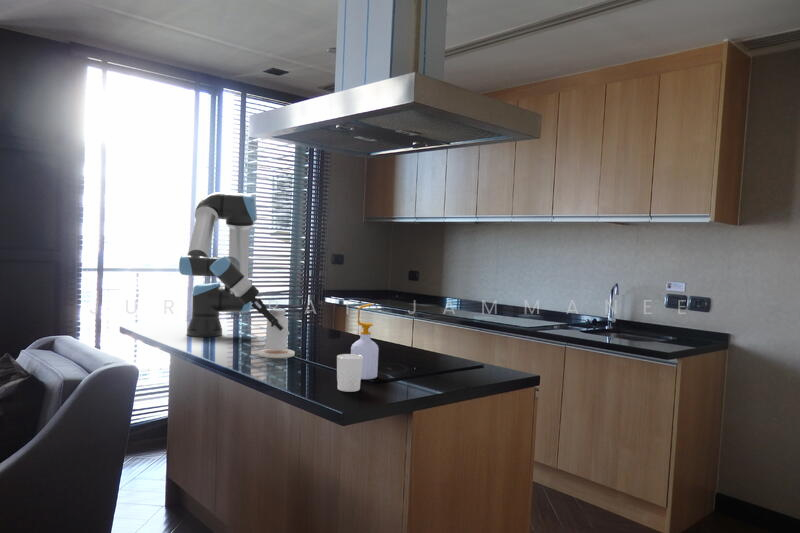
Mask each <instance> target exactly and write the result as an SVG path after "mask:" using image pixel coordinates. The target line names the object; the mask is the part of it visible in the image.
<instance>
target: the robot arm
mask: <svg viewBox="0 0 800 533" xmlns="http://www.w3.org/2000/svg"><path fill="white" fill-rule="evenodd" d="M194 211H195V212H194V218H195V221H194V222H195V223H194V226H193V232H192V236H191V237H190V238H191V240H190V242H189V247H188V252H187V254H186V255H181V257H180V258H179V263H178V270H179V274H181V275H183V276H189V277H190V276H191V277H193V276H194V277H215V278H217V279H218V280H219V281H220V282H222V284H223V286H222V285H221V283H220V282H210V283H200V284H196V285H194V286H193V289H192V295H191V296H192V303H191V304H192V305H191V306H192V308H191V319H190V321H189V324H188V327H187V329H186V335H187V336H190V337H196V338H197V337H200V338H209V337H210V338H211V337H220V336H222V335H223V327H222V324H221V320H220V313H239V314H241V313H250V311H251V310H252V308H253V309H254V310H256V311H257V312H258V313H259V314H262V316H263V317H264V318H265V319H268V320H269V322H270V323H271V324H272V325H271V327H273V326H274V327H275V328H276V329H277V330H278V331H279V332H280V333H281V334H282V335H283V337H284V338H286V337H287V338H288V336H289V335H290V334H291V333H290V331H289V329H288V330H287V329H286V328H285V327H284V326H283V325H282V324H281V323H280V322H279V321H278V320H277V319H276V318H275V317H274V316H273V315H272V313H271V311H270V310H268V309H267V308H268V307H267V305H265V303H264V301H262V299H261V298H256V296H258V295H259V294H260V291H259V290H258V287H257V288H256V286H255V285H253V284H252V282H251V281H250V280H249V263H250V262H249V260H250V259H249V258H250V229H251V227H253V226H254V222H256V221H257V219H258V218H257V217H258V216H257V203H256V198H255V196H254V195H253V194H248V193H241V192H240V193H239V192H236V193H235V192H221V191H218V192H217V191H216V192H213V193H211V194H208V195H206V196H205V197H204V198H203V199H202V200H201V201H200V202H198V204H197V205H196V208H195V210H194ZM218 220H225V225H227V227H228V229H229V236H228V239H229V240H228V241H229V242H228V256H226V255H221V256H219V257H217V256H209V253H210V250H211V249H210V248H211V242H212V240H213V239H212V238H213V233H214V227H215V223H217V222H218Z"/></svg>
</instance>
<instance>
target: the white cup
mask: <svg viewBox="0 0 800 533" xmlns="http://www.w3.org/2000/svg"><path fill="white" fill-rule="evenodd" d="M362 365H363V356H361V355H355V354H351V353H342V354H338V355H336V381H337V390H339V391H341V392H346V393H347V392H348V393H349V392H350V393H351V392H358V391H360V389H361V380H362V379H361V375H362Z"/></svg>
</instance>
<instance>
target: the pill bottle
mask: <svg viewBox="0 0 800 533" xmlns="http://www.w3.org/2000/svg"><path fill="white" fill-rule="evenodd" d="M270 313H271V314H272V315H273V316H274V317H275V318H276V319H277V320H278V321H279V322H280V323H281V324H282V325H283V326H284V327H285V328H286V329H287V330H288V331H289V319H288V317H287V316H285V315H286V309H285V308H272V309H271V310H270ZM266 319H267V318H266ZM271 325H272V324H271V323H270V322H269V320H268V319H267V321H266V332H265V333H266V335H265V336H266V338H265V349H274V350H281V349H286V348H287V345H288V336H287V337H286V338H284V337H283V335H282V334H281V333H280V332H279V331H278V330H277V329H276V328H275V327H274V326H273V327H271Z"/></svg>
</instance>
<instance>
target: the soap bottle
mask: <svg viewBox="0 0 800 533" xmlns="http://www.w3.org/2000/svg"><path fill="white" fill-rule="evenodd" d="M372 305H373V303H372V302H371V303H370V302H369V303H367V304H362V305H360V306H359V307H358V309H357V324H358V325H359V326H361V328H362V329H363V330H362V331H360V338H359V339H358V340H356V341H355V342H354V343H352V344H351V347H350V354H355V355H361V356H363V365H362V375H361V380H373V379H376V378H377V377H378V367H379V350H380V349H379V345H378V344H377V343H376V342H375V341H373V340H372V339H371V336H372V335H371V331H369V329H370V328H371V327H374V323H373V322H361V321H360V310H361V309H363V308H367V307H371V306H372Z"/></svg>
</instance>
